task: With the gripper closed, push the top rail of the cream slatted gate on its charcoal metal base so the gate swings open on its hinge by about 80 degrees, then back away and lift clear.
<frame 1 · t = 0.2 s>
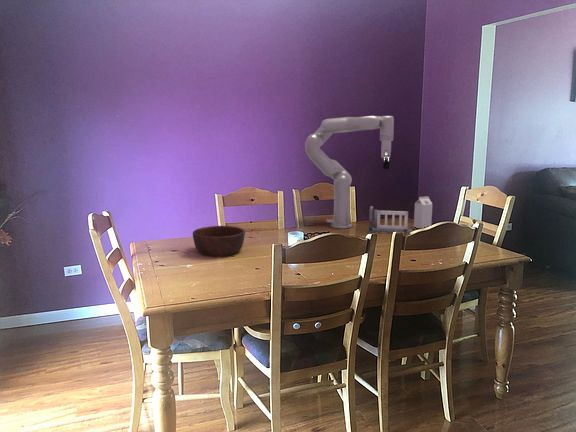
hand: (386, 168, 289), 35 cm above the table, tool pointing down, fingers open, 9 cm apart
wooden bowl: (219, 252, 246), on the table
milk carton: (422, 229, 295), on the table
gate base: (390, 231, 287), on the table
gate: (390, 219, 286), point 7 cm above the table, hinge at 0.0°
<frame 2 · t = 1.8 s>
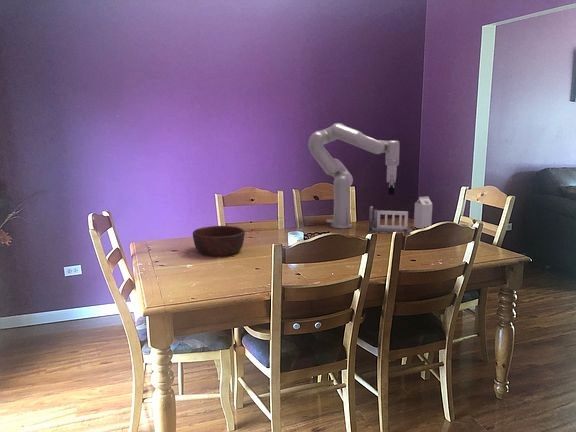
hand: (391, 194, 289), 21 cm above the table, tool pointing down, fingers closed
nothing on the table moved.
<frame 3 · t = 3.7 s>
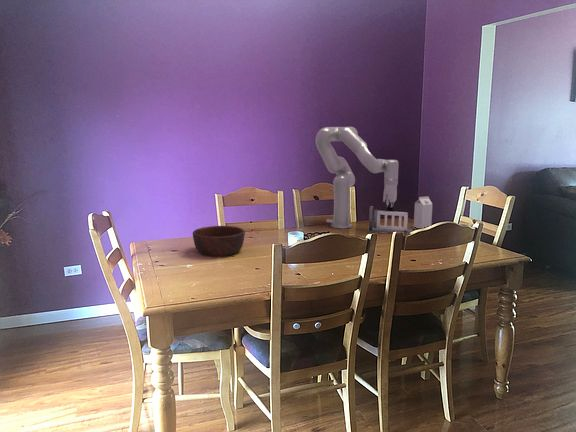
hand: (390, 213, 286), 10 cm above the table, tool pointing down, fingers closed
gate: (390, 219, 284), point 7 cm above the table, hinge at -10.4°, touching gripper
everything else where it was.
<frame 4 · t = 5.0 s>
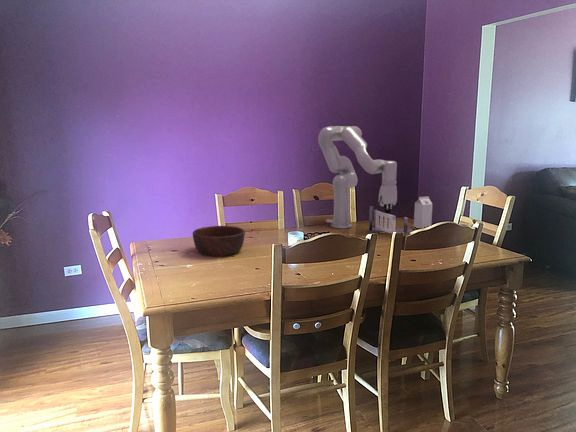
hand: (387, 215, 281), 10 cm above the table, tool pointing down, fingers closed
gate: (384, 221, 280), point 7 cm above the table, hinge at -53.9°, touching gripper
everything else where it was.
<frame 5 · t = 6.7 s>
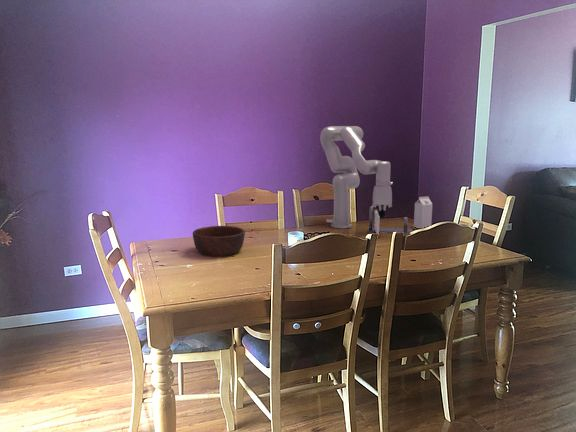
hand: (381, 217, 276), 10 cm above the table, tool pointing down, fingers closed
gate: (376, 221, 279), point 7 cm above the table, hinge at -83.6°, touching gripper
everything else where it was.
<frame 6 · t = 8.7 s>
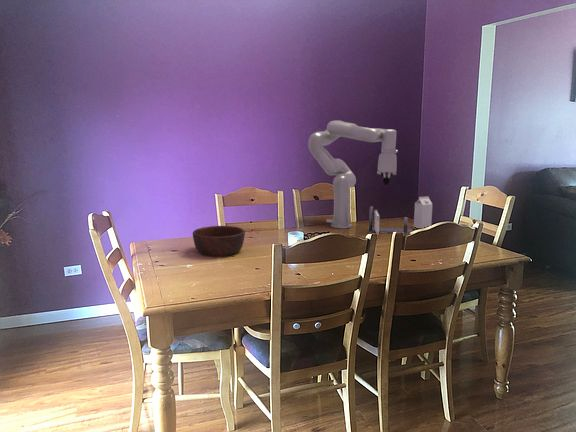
hand: (385, 184, 282), 27 cm above the table, tool pointing down, fingers closed
gate: (376, 221, 279), point 7 cm above the table, hinge at -83.7°
everything else where it was.
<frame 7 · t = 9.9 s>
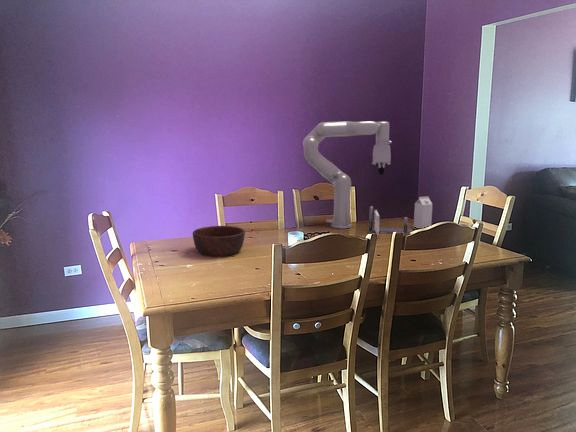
hand: (381, 174, 296), 31 cm above the table, tool pointing down, fingers closed
nothing on the table moved.
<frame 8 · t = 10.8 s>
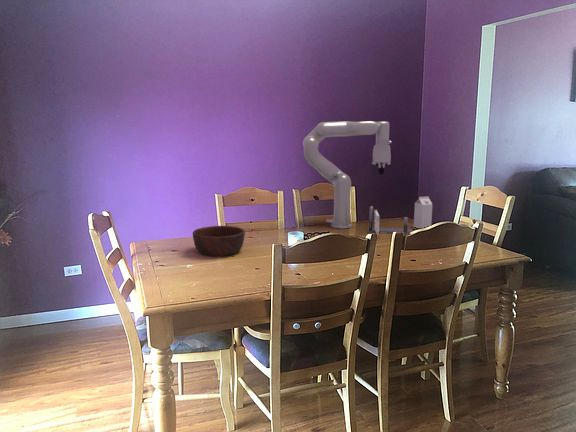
hand: (381, 174, 296), 31 cm above the table, tool pointing down, fingers closed
nothing on the table moved.
at the end: gate at -84° (first picture: +0°); milk carton moved 0.2 cm from its start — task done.
